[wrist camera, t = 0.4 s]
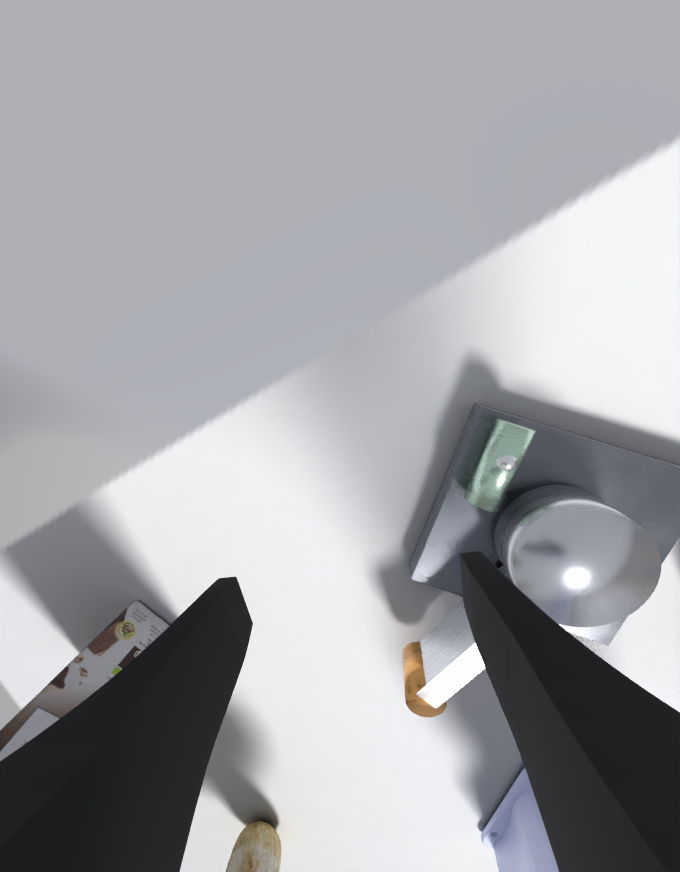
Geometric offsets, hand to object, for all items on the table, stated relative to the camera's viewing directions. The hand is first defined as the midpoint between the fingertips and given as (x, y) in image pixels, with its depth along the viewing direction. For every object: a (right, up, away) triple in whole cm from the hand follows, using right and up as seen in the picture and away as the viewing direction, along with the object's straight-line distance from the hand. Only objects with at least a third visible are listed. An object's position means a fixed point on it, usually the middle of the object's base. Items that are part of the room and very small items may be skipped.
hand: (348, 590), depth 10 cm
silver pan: (+9, -4, +8) cm, 13 cm away
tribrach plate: (+11, 0, +9) cm, 15 cm away
